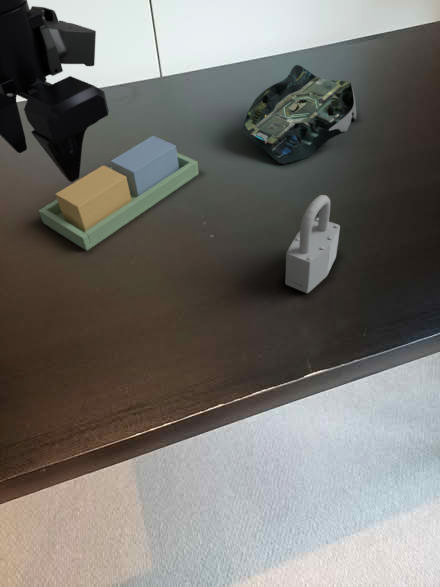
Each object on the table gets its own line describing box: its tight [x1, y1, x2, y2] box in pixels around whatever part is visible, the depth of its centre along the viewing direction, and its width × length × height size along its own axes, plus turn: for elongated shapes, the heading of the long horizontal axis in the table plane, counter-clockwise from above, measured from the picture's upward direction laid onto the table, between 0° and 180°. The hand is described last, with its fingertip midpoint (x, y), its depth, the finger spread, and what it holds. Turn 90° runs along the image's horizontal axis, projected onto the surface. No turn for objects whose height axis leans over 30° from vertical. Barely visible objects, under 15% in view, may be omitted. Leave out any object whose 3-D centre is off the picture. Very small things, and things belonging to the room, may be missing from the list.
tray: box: [38, 152, 199, 251], centre depth 72 cm, size 21×9×2 cm, turn 139°
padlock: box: [284, 194, 341, 294], centre depth 57 cm, size 7×4×10 cm, turn 145°
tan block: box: [55, 164, 132, 231], centre depth 69 cm, size 8×5×4 cm, turn 139°
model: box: [242, 64, 357, 165], centre depth 79 cm, size 20×9×14 cm
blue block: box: [110, 135, 179, 197], centre depth 74 cm, size 8×5×4 cm, turn 139°
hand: (47, 164), depth 56 cm, fingers open, 9 cm apart
